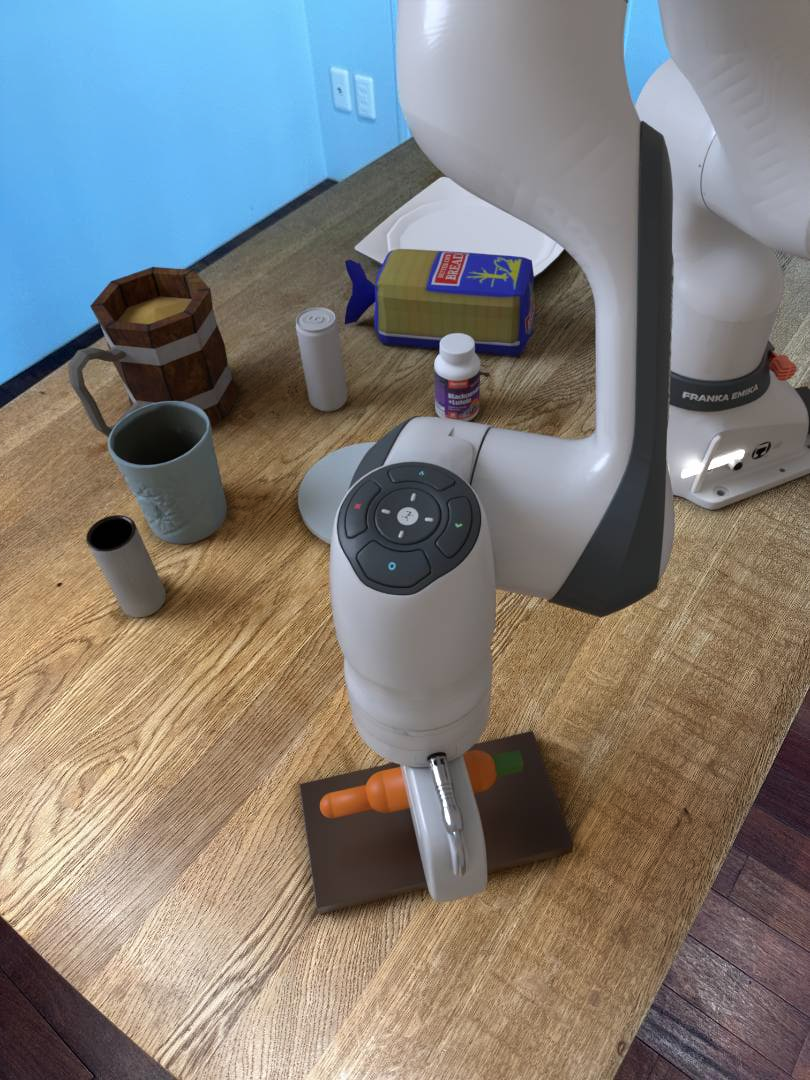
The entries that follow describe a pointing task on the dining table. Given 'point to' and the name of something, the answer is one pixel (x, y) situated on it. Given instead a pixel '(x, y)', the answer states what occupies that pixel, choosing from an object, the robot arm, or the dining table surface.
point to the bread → (448, 299)
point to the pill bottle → (457, 378)
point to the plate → (458, 229)
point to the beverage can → (322, 358)
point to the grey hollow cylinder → (126, 565)
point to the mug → (159, 344)
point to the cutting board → (390, 840)
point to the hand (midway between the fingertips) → (426, 786)
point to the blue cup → (171, 469)
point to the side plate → (328, 488)
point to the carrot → (390, 791)
